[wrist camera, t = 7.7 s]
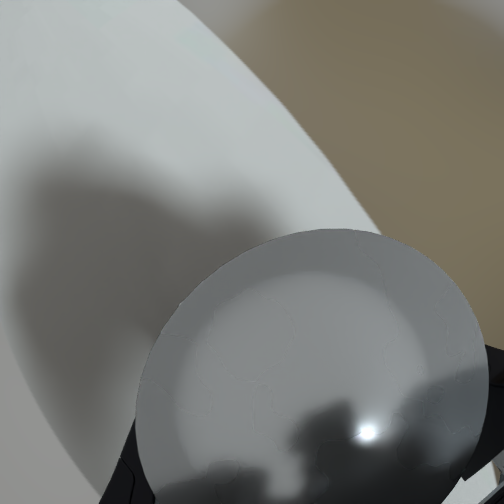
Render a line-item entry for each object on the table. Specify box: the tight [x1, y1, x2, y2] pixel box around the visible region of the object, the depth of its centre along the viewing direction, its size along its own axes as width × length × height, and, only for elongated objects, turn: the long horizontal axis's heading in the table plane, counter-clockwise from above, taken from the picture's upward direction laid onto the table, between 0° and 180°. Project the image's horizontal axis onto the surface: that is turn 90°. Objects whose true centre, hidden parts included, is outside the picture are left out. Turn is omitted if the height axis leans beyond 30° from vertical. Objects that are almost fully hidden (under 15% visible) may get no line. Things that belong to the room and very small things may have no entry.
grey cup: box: [135, 229, 489, 504], centre depth 10 cm, size 7×7×12 cm
